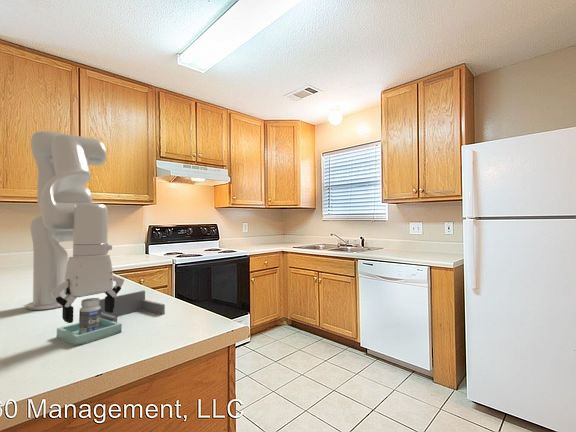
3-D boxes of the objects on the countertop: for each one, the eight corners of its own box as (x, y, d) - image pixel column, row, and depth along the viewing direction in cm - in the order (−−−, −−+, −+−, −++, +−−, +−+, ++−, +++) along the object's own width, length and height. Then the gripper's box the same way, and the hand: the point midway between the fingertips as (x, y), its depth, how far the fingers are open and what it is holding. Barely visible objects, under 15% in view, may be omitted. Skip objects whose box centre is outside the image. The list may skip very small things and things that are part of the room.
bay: (92, 321, 89) (92, 301, 89) (143, 308, 103) (143, 290, 103) (113, 329, 83) (113, 306, 83) (164, 313, 97) (164, 294, 97)
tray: (56, 337, 77) (56, 328, 77) (100, 325, 86) (100, 317, 86) (76, 346, 72) (76, 336, 72) (121, 332, 81) (121, 323, 81)
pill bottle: (90, 336, 76) (90, 302, 77) (74, 334, 77) (74, 301, 78) (105, 329, 81) (105, 297, 81) (90, 328, 82) (90, 296, 82)
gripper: (116, 247, 89) (115, 306, 88) (44, 252, 74) (43, 323, 74) (130, 248, 85) (130, 310, 84) (58, 254, 70) (57, 329, 70)
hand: (89, 316), depth 79 cm, fingers open, 9 cm apart
